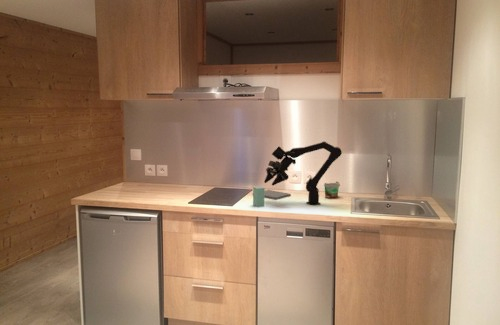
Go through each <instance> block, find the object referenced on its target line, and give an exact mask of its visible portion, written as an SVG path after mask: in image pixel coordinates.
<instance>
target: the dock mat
mask: <svg viewBox="0 0 500 325" xmlns="http://www.w3.org/2000/svg"><path fill="white" fill-rule="evenodd" d="M291 196H292V195H291V193H288V192H283V191H277V190H271V189H265V192H264V199H269V200H270V199H271V200H274V201H277V200H281V199H284V198H288V197H291Z"/></svg>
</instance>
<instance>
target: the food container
mask: <svg viewBox="0 0 500 325" xmlns="http://www.w3.org/2000/svg"><path fill="white" fill-rule="evenodd" d="M340 186H341V184H340V182H339V181H335V182H329V183H327V182H324V184H323V187H324V198H325V199H337V198H338V197H339V187H340Z"/></svg>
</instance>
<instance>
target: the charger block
mask: <svg viewBox="0 0 500 325" xmlns="http://www.w3.org/2000/svg"><path fill="white" fill-rule="evenodd" d="M265 190H266V189H265V187H263V186H253V188H252V191H253V192H252V206H254V207H256V208H258V207H259V208H260V207H265V198H264V192H265Z"/></svg>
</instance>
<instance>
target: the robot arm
mask: <svg viewBox="0 0 500 325" xmlns="http://www.w3.org/2000/svg"><path fill="white" fill-rule="evenodd" d="M322 149H324V150H326V151H328V152H329V155H328V157H327V159H326V161H324V162H323V164H322V165H321V167H320V168H319V169H318V171H317V172H316V173H315V175H314V176H313V177H311V176H310V177H309V179H308V180H307V181H306V182H305V183H306V184H305V185H306V186H305V190H306V191H307V192H308V201H306V204H309V205H311V206H313V205H314V206H315V205H321V202H319V201H320V192H319V191H320V190H319V188H318V184H319V182H320V180H321V178H323V177H324V175H325V174H326V172H327V171H328V170H329V168H330V167H331V165H332V164H333V163H334V162H335V161H336V160H338V159H339V157H341V155H342V153H343V151H342V149H341V148H340V147H339V146H333V145H331V144H330V143H328V142H326V141H324V140H323V141H321V142H318V143H314V144H312V145H307V146H304V147H303V146H302V147H292V148H291V149H290V150H286V151H285V150H284V149H283V148H282V147H281V146H280V145H279V146H278V147H276V149H274V151H273V152H272V153H271V156H273V157H274V158H276V159H277V160H275V161H274V160H269V162H268V167H267V168H266V169H265V170H266V176H265V178H264V184H267V183H268V182H269V181H271V180H273V179H274V180H273V181H272V183H271V185H272V186H275V185H277V184H280V183H282V182H284V181H287V180H288V179H289V175H288V174H287V172H286V171H288V170H289V167H290V166H291V165H292V164H293V165H296V164H297V162H296V159H297V158H298V157H300V156H303V155H305V154H307V153H311V152H315V151H319V150H322ZM279 160H280V161H279ZM269 166H270V167H269ZM275 176H276V177H275Z"/></svg>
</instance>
